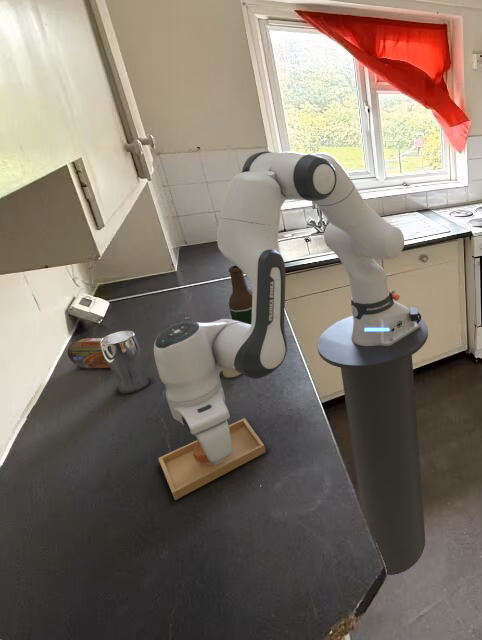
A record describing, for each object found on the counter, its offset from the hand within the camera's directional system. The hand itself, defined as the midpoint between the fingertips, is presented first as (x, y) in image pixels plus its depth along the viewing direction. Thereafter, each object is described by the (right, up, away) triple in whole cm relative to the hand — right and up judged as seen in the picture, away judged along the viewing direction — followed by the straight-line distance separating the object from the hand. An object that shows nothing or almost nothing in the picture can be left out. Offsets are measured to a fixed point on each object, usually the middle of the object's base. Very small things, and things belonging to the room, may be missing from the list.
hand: (213, 452), depth 90 cm
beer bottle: (-21, +16, +47) cm, 54 cm away
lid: (0, +2, -1) cm, 2 cm away
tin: (-53, +11, +31) cm, 62 cm away
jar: (-14, +9, +29) cm, 34 cm away
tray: (0, -2, 0) cm, 2 cm away
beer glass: (-37, +7, +22) cm, 44 cm away
